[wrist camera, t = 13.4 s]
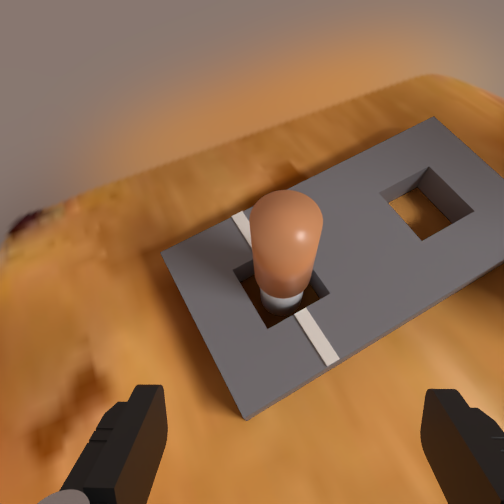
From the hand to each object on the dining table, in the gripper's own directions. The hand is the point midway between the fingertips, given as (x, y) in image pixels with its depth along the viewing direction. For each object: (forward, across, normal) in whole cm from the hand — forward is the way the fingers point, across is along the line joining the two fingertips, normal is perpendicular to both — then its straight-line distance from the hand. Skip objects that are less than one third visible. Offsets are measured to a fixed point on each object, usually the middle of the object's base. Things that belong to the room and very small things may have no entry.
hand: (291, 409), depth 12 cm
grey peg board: (+22, -6, +2) cm, 23 cm away
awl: (+19, 0, +5) cm, 20 cm away
